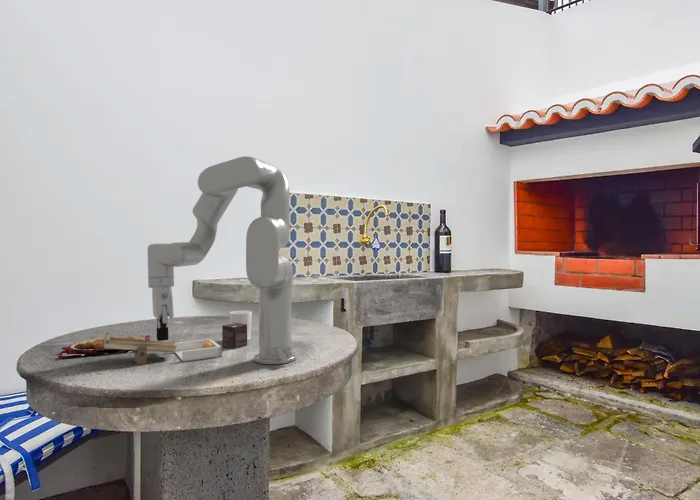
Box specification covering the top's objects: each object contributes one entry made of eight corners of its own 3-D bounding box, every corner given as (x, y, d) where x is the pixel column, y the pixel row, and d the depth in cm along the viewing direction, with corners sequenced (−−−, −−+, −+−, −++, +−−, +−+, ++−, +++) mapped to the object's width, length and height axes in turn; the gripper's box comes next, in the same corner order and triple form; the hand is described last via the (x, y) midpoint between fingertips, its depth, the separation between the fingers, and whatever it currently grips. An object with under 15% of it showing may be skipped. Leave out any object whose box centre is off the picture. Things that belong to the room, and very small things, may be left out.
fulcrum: (146, 364, 133) (146, 346, 133) (137, 365, 132) (137, 347, 132) (143, 358, 140) (142, 341, 140) (134, 359, 139) (134, 342, 139)
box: (235, 343, 160) (234, 322, 160) (247, 345, 157) (247, 324, 157) (221, 347, 155) (221, 325, 154) (234, 349, 152) (234, 327, 151)
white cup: (249, 342, 162) (248, 313, 162) (227, 342, 162) (226, 313, 162) (254, 337, 170) (254, 310, 170) (233, 337, 170) (232, 310, 170)
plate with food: (153, 352, 150) (153, 342, 150) (58, 360, 139) (58, 348, 139) (149, 339, 172) (149, 330, 172) (67, 345, 161) (67, 335, 161)
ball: (213, 352, 145) (213, 342, 145) (203, 353, 144) (203, 343, 144) (210, 350, 148) (211, 341, 148) (201, 351, 146) (201, 341, 146)
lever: (174, 352, 138) (177, 340, 139) (104, 348, 128) (107, 335, 129) (167, 344, 149) (169, 333, 149) (102, 339, 139) (104, 328, 140)
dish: (222, 356, 141) (221, 346, 141) (183, 361, 135) (183, 351, 135) (210, 347, 153) (210, 338, 153) (174, 352, 147) (174, 342, 147)
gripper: (178, 283, 141) (179, 342, 141) (169, 280, 153) (170, 334, 154) (151, 284, 137) (153, 346, 137) (145, 281, 150) (146, 337, 150)
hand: (162, 339), depth 145 cm, fingers closed
